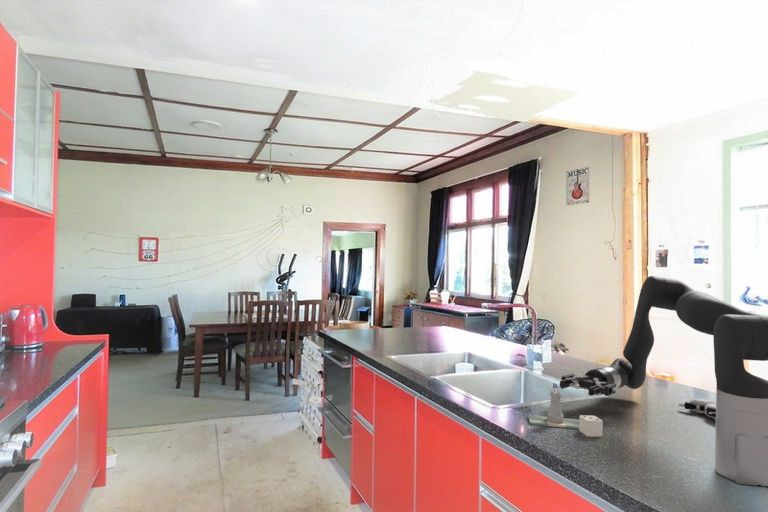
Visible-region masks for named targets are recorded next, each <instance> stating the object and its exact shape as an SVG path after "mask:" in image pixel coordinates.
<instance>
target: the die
mask: <svg viewBox="0 0 768 512" xmlns="http://www.w3.org/2000/svg"><path fill="white" fill-rule="evenodd" d="M578 420H579V429H578V431H579V432H580V433H582V434H583V435H584V436H585V437H598V438H599V437H603V431H602V429H604V428H603V425H604V424H603V422H604V421H603V420H602V419H601V418H599V417H598V416H596V415H584V414H583V415H579V418H578Z"/></svg>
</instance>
